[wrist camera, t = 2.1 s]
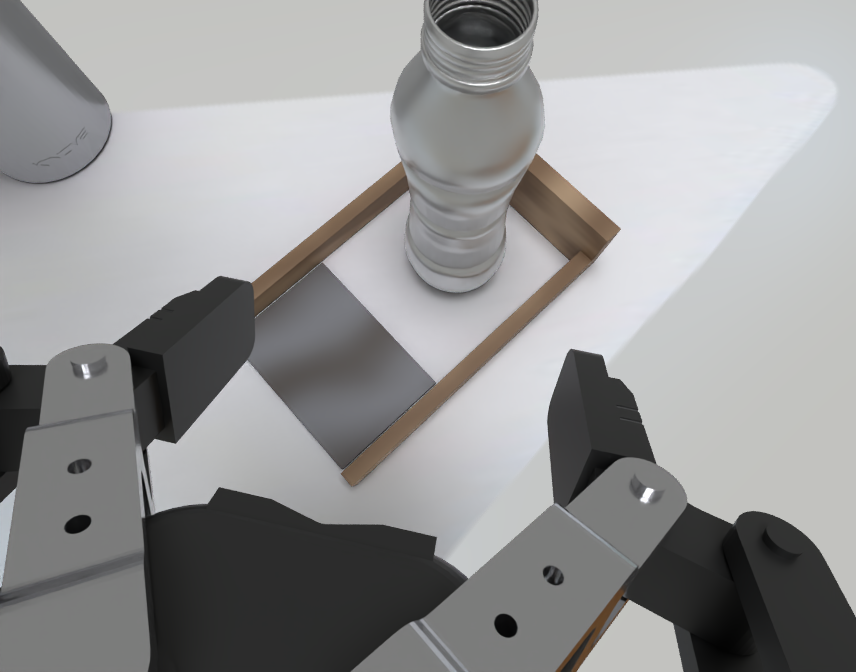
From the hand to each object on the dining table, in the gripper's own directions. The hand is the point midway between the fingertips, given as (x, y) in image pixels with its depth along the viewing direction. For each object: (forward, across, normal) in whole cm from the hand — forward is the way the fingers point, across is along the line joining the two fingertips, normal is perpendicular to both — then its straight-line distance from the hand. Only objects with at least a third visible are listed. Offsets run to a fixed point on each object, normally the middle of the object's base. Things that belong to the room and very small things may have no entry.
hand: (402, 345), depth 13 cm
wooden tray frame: (+20, +2, +9) cm, 22 cm away
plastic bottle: (+23, 0, +7) cm, 24 cm away
